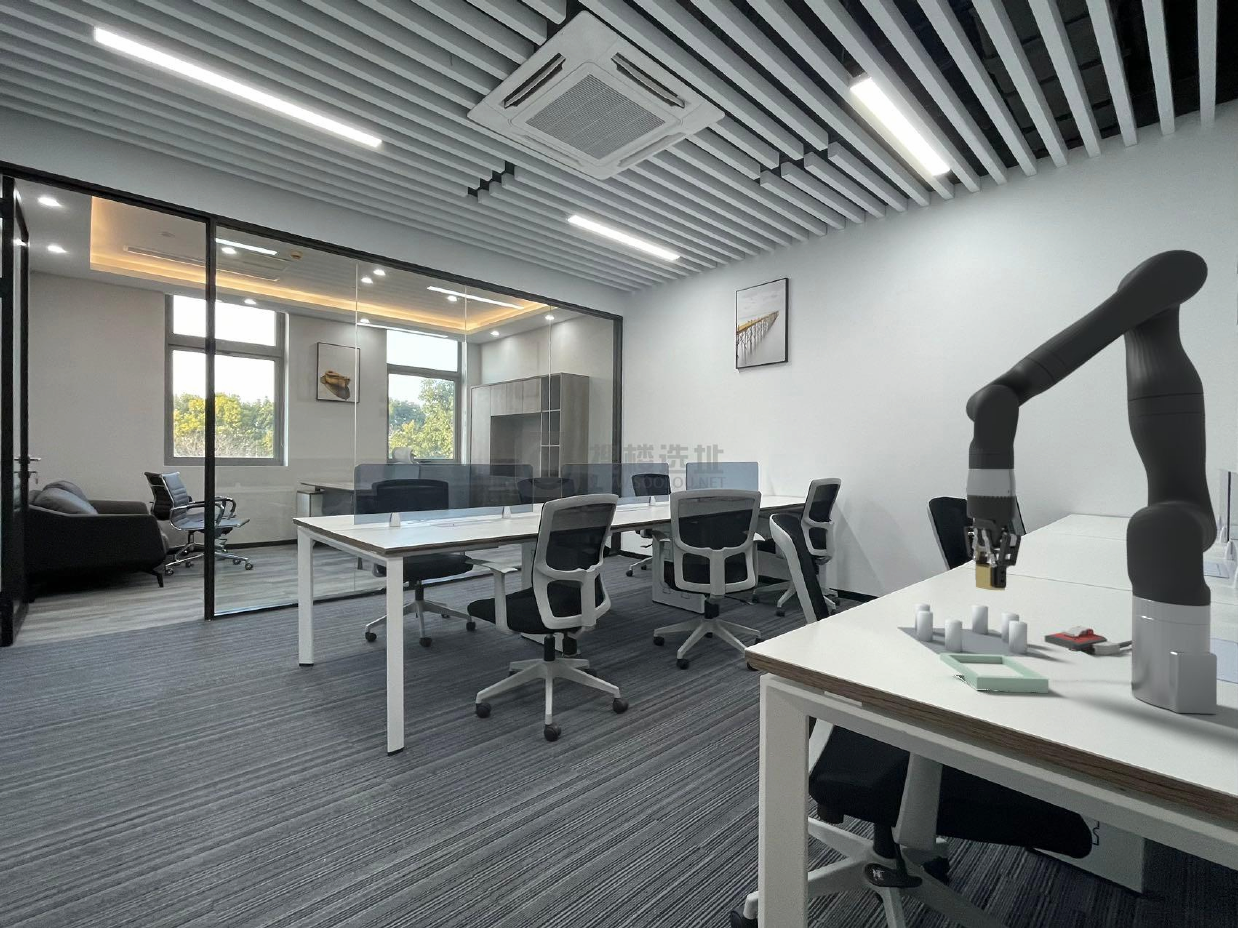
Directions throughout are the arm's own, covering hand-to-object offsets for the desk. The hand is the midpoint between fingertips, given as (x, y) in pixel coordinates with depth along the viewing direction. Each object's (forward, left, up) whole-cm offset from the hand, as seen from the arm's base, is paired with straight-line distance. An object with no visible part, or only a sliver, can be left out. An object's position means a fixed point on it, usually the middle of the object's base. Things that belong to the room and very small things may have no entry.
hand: (990, 584), depth 101 cm
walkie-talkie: (+19, -32, -18) cm, 41 cm away
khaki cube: (0, 0, -1) cm, 1 cm away
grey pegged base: (+17, -6, -17) cm, 25 cm away
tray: (-1, 0, -17) cm, 17 cm away
